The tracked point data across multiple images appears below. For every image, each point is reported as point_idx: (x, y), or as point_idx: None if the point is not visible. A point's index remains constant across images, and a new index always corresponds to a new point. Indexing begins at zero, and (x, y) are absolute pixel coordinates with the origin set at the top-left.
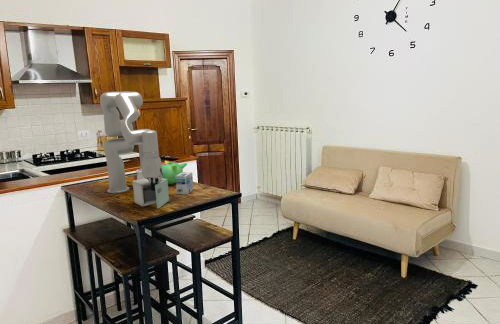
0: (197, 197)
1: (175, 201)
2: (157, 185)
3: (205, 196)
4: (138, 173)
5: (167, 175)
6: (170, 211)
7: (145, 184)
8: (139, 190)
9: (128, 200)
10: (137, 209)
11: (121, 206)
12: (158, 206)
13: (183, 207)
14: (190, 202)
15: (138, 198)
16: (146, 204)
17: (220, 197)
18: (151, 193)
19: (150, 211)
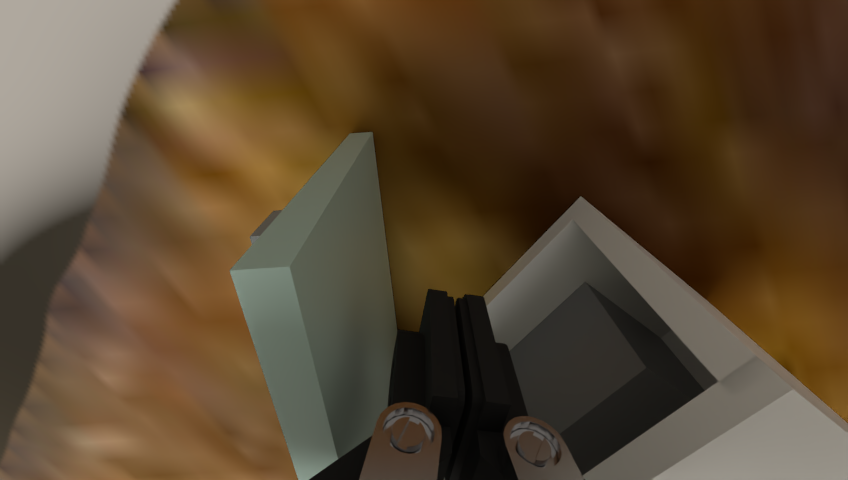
0: (195, 452)
1: None
2: (249, 301)
3: (149, 474)
4: None
5: None
6: (163, 62)
7: (661, 429)
8: (719, 319)
9: (783, 345)
10: (602, 89)
11: (826, 173)
12: (349, 137)
13: (120, 212)
14: (163, 347)
15: (676, 277)
16: (550, 234)
17: (15, 464)
18: (553, 387)
19: (407, 31)
